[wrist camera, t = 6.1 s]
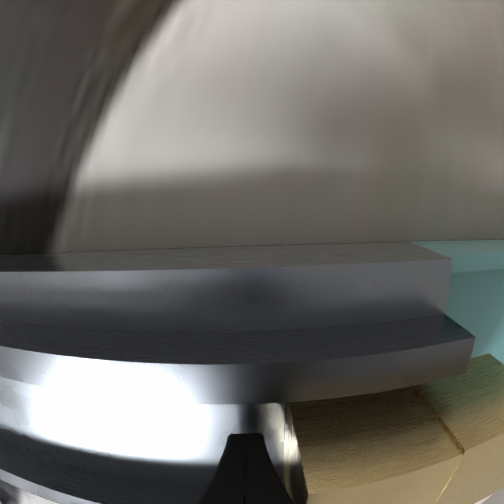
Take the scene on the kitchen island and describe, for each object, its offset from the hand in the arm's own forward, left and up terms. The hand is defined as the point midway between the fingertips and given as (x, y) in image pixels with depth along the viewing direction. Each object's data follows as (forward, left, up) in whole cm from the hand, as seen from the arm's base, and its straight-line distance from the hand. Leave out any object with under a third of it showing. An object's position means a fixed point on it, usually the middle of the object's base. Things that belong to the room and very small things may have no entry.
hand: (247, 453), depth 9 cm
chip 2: (0, -7, -1) cm, 7 cm away
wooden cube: (0, -3, -1) cm, 3 cm away
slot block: (0, +4, -4) cm, 5 cm away
